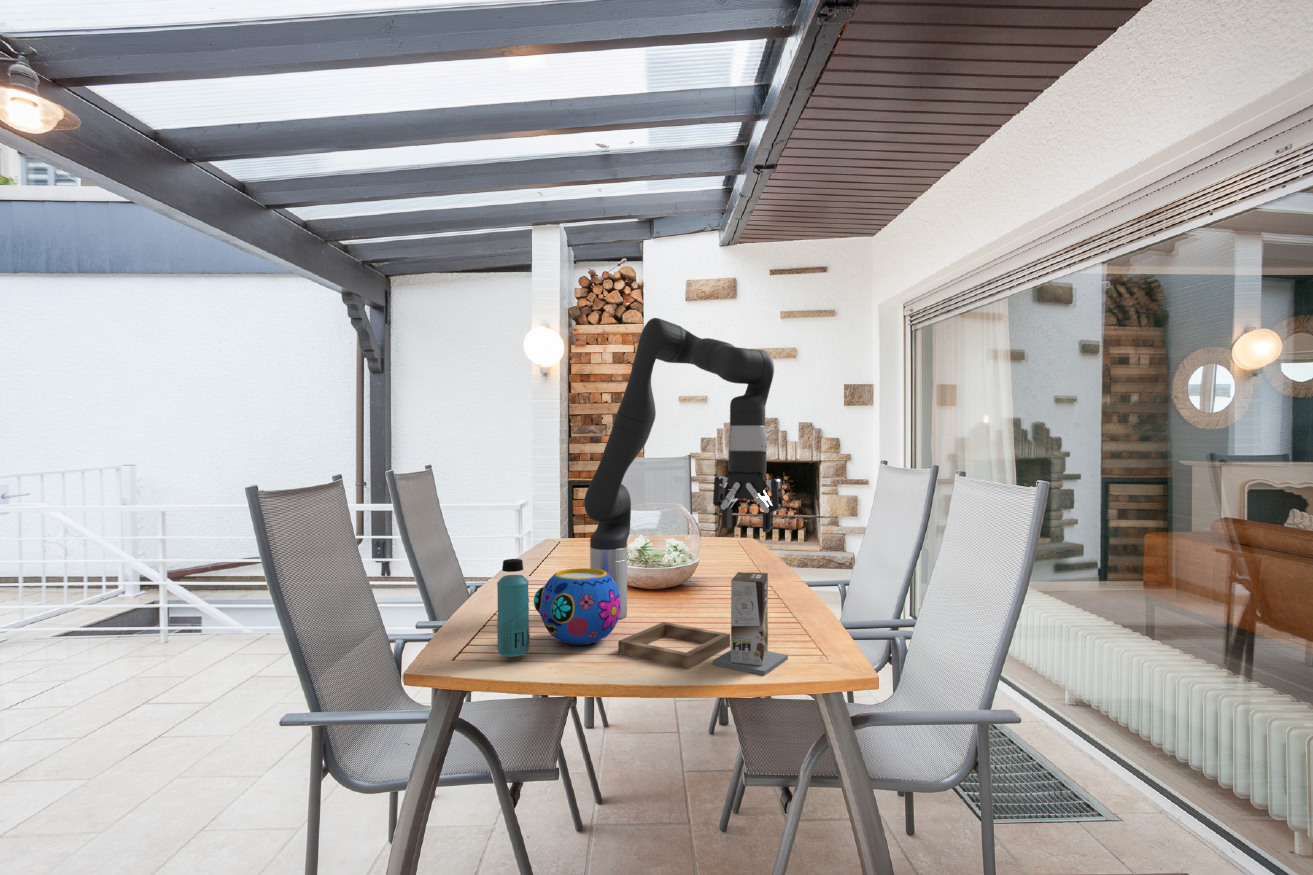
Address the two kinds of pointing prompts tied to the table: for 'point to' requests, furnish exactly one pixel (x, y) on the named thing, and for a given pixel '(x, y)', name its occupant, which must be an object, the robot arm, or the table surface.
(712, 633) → the board
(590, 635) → the ceramic pot
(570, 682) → the table surface
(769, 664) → the slate mat
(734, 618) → the coffee box
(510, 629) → the beverage bottle
